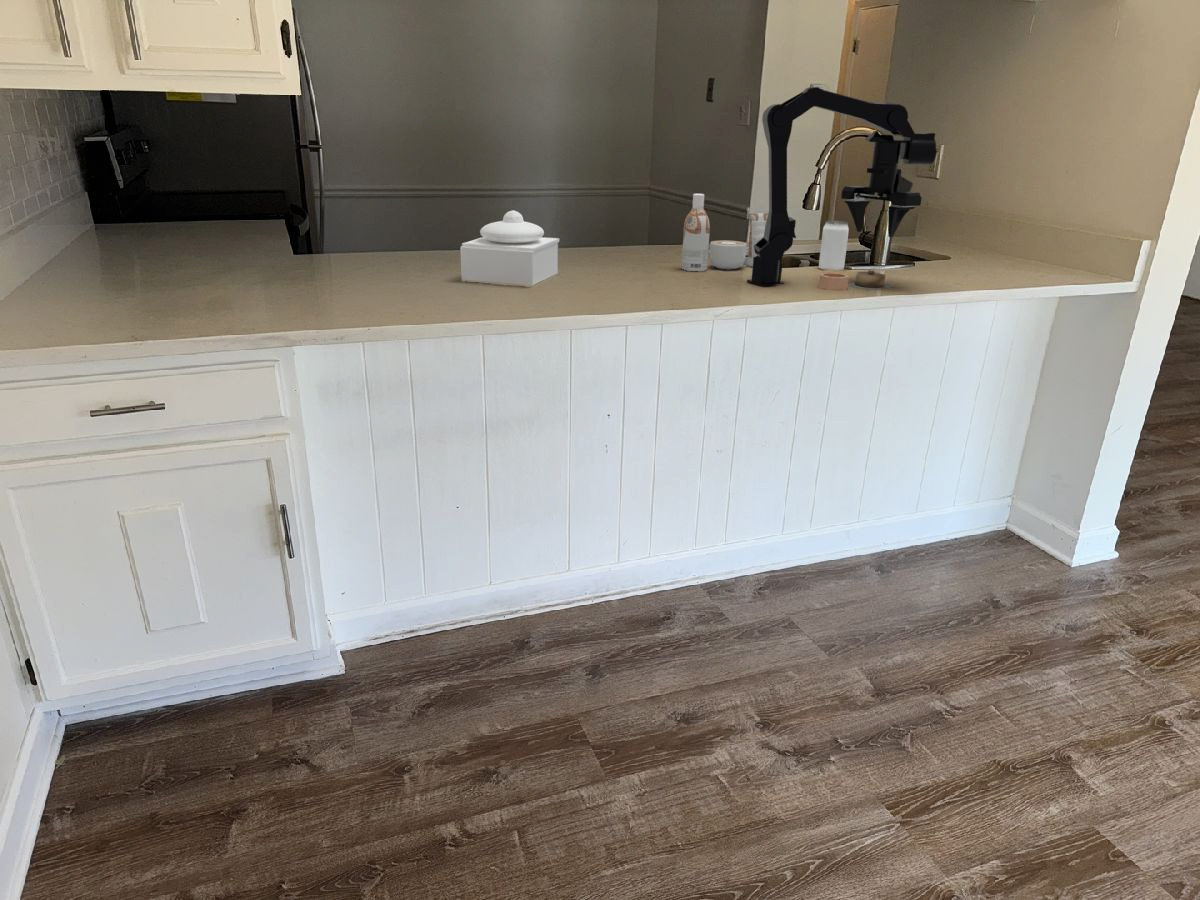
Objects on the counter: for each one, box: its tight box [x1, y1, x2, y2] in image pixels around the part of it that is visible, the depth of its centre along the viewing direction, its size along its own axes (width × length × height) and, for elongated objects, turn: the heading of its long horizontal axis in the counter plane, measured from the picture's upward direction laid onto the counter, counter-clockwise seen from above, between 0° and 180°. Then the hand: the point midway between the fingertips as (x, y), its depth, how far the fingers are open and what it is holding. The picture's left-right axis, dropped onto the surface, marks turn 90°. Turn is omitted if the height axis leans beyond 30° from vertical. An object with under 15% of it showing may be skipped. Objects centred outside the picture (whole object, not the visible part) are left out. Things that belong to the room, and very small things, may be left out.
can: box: [818, 220, 850, 271], centre depth 221 cm, size 6×6×12 cm
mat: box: [848, 282, 898, 291], centre depth 201 cm, size 10×8×1 cm
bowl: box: [818, 272, 850, 292], centre depth 198 cm, size 6×6×3 cm
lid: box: [854, 269, 886, 288], centre depth 201 cm, size 7×7×3 cm
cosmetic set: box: [681, 193, 769, 272], centre depth 218 cm, size 25×9×19 cm, turn 112°
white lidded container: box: [460, 209, 560, 286], centre depth 200 cm, size 18×18×16 cm
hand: (874, 234), depth 198 cm, fingers open, 9 cm apart
